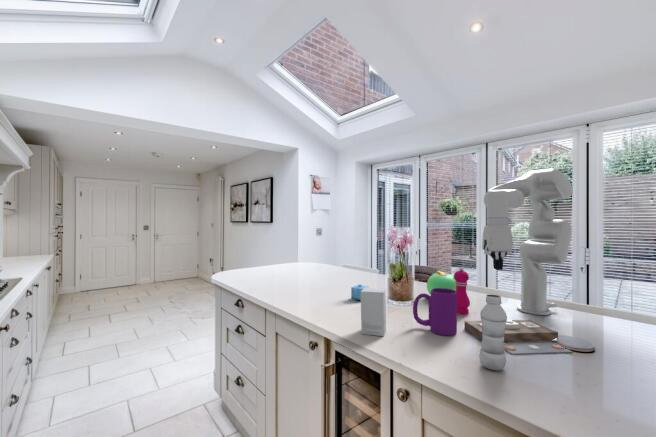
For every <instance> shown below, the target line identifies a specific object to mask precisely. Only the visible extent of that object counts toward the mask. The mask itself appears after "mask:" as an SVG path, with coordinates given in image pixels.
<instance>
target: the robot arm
mask: <svg viewBox="0 0 656 437" xmlns="http://www.w3.org/2000/svg"><path fill="white" fill-rule="evenodd" d="M572 195H573V184H572V183H571V182H570V180H569V178H567V176H566V175H565V174H564V173H563V172H562V171H560V170H559V169H557V168H546V169H535V170H530V171H528V172H526V173H524V174H523V175H521V176H520V177H519V178H516V179H514V180H511V181H508V182H505V183H501V184H498V185H496V186H494V187H492V188H490V189H489V190H487V191H486V193H485V194H484V195H483V196H484V197H483V203H484V205H485V207H486V225H484V228H483V232H482V242H481V247H482V250H483V251H484V252H483V254H484V255H487V256H490V258H491V259H492V263H493V264H492V265H493V269H495V270H496V271H497V270H498V271H500V270H501V271H502V270H504V268H503V267H504V260H505V257H506V256H507V255H510V254H512V253H513V252H512V250H513V247H514V243H513V242H514V240H513V233H512V228H511V225H509V224H510V223H511V222H512V219H511V218H509V215H510V214H509V210H511V209H518V208H520V207H521V206H523V205H524V203H525V198H528V200H529V202H530V205H531V207H532V213H531V218H530V222H529V226H528V233H527V234H528V237H529V238H531V239H532V240H525V241H522V242H521V244H520V245H519V250H518V253H519V257H520V264H521V266H520V267H521V287H520V288H521V289H520V290H521V292H520V293H521V295H520V297H521V298H520V304H518V305H517V306H516V308H517V311H519V312H523V313H525V314H529V315H536V316H548V315H549V316H550V315H551V313H552V311H551V310H550V308H557V303H555V302H549V301H547V300H548V298H547V295H548V291H547V290H548V285H547V284H548V283H547V282H548V272H547V270H546V269H545V267H544V266H543V264H549V265H563V264H564V263H565V262H566V260H567V258H568V255H569V249H570V244H571V239H572V233H573V229H572V225H571V223H570V222H569V221H567V220H565V219H554V218H555V214H556V212H555V209H554V207H553V206H551V204H549V203H548V201H556V200H557V201H558V200H567V199H569V198H570V197H571V196H572Z"/></svg>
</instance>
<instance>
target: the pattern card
mask: <svg viewBox="0 0 656 437" xmlns="http://www.w3.org/2000/svg"><path fill="white" fill-rule="evenodd" d="M555 343H556V342H518V343H504V348H505V352H507V353H508V354H509V355H511V356H512V355H513V356H514V355H515V356H517V355H519V356H521V355H545V354H546V355H549V354H551V355H552V354H573V352H574V351H572V350H570V349H568V348H566V347H564V346H562V345H560V344H558V345H556V344H557V343H556V344H555ZM559 345H560V346H559ZM561 346H562V347H561ZM563 347H564V348H563ZM565 348H566V349H565Z"/></svg>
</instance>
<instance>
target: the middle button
mask: <svg viewBox="0 0 656 437" xmlns="http://www.w3.org/2000/svg"><path fill="white" fill-rule="evenodd" d="M512 320H513V319H507V321H506V327H505V328H506V329H519V324H518V323H516V322H514V321H512Z"/></svg>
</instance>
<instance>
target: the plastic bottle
mask: <svg viewBox="0 0 656 437" xmlns="http://www.w3.org/2000/svg"><path fill="white" fill-rule="evenodd" d="M485 303H486V304H485V305H484V306H483V308H482V309H481V310H480V321H481V323H482V341H481V346H480V347H481V348H480V351H479V362H480V364H481V366H482V367H484V368H486V369H487V370H490V371H491V370H492V371H503V369H504V370H505V367H506V366H507V364H506V363H507V355H506V353H505V352H506V351H505V348H504V344H505V343H504V334H505V327H506V321H507V320H508V315H507V312H506V311H505V309H504V308H503V307H502V296H501V295H497V294H486V296H485Z"/></svg>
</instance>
